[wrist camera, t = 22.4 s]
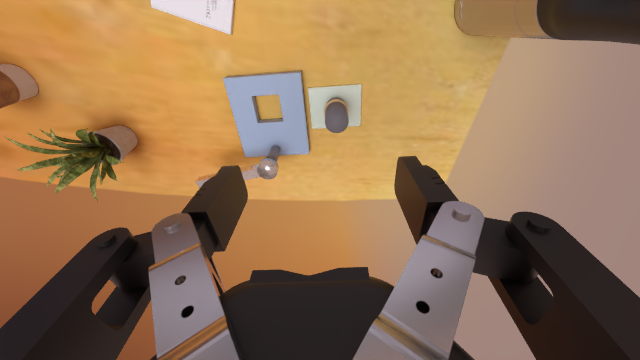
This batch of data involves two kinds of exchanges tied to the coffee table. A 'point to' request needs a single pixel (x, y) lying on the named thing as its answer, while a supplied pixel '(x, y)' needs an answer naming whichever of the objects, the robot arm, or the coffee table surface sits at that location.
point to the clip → (251, 171)
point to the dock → (269, 133)
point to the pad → (324, 94)
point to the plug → (336, 115)
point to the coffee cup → (15, 85)
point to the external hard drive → (201, 12)
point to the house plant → (85, 154)
